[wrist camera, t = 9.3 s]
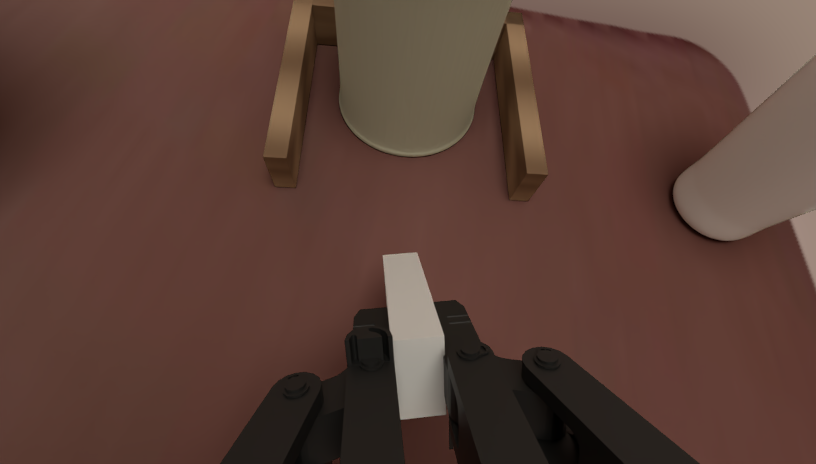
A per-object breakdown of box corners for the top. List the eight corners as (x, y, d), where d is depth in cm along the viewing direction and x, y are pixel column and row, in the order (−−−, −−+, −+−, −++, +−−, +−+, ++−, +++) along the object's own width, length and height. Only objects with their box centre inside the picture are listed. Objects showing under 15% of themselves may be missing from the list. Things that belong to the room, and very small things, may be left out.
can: (426, 38, 30) (461, -177, 19) (499, 124, 27) (590, -70, 16) (315, 79, 27) (280, -146, 16) (383, 180, 24) (397, -9, 13)
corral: (528, 201, 24) (548, 174, 22) (275, 186, 23) (262, 156, 20) (507, 49, 30) (521, 13, 27) (302, 30, 29) (295, -9, 26)
